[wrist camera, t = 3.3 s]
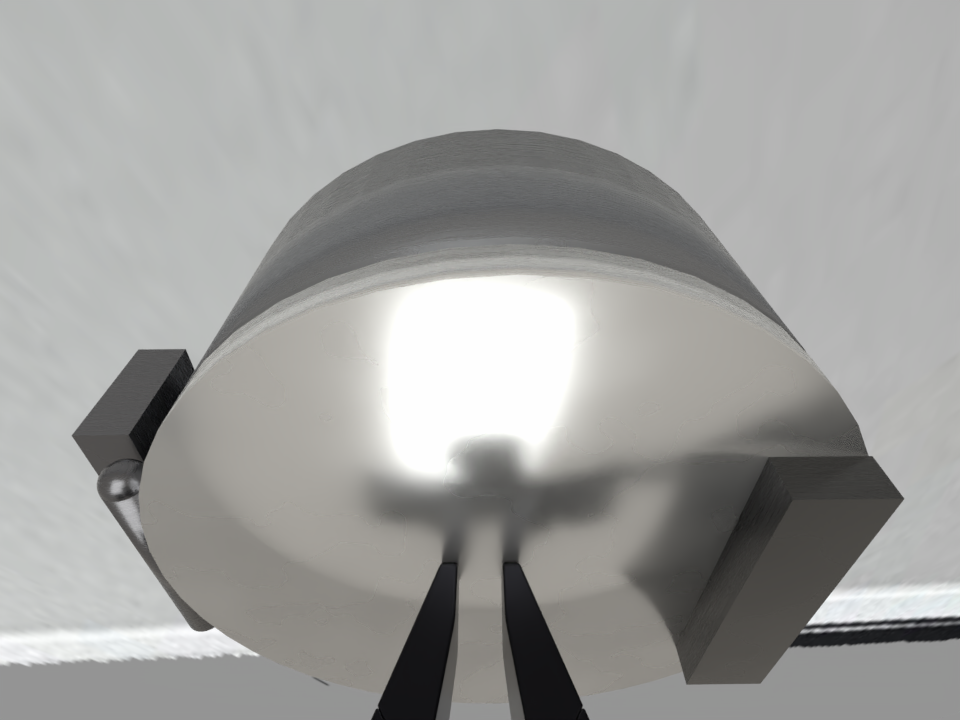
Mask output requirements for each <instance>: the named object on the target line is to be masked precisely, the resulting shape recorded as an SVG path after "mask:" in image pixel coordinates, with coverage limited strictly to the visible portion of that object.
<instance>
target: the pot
mask: <svg viewBox="0 0 960 720" xmlns="http://www.w3.org/2000/svg"><path fill="white" fill-rule="evenodd" d="M507 244H522V245H540V246H558V247H576V248H583V249H589V250H594V251H600V252H606V253H611V254H617V255H622V256H628V257H633V258H639V259H642V260H646V261H649V262H652V263H655V264H658V265H661V266H664V267H667V268H671V269H674V270H677V271H680V272H683V273H686V274H689V275H692V276H695V277H697V278H700V279H702V280H704V281H706V282H708V283H710V284H712V285H714V286H716V287H718V288H720V289H722V290H724V291H726V292H728V293H730V294H732V295H734V296H736V297H738V298H741V299H743V300H744V301H745V302H747V303H748V304H750V305H751V306H753V307H754V308H755V309H757V310H758V311H760V312H761V313H762V314H764V315H765V316H767V317H768V318H770V319H771V320H772V321H774V322H775V323H777V324H778V325H779V326H781V327H782V328H783V329H784V330H785V331H786V332H787V333H788V334H789V335H790V336H791V337H792V338H793V339H794V340H795V341H796V342H797V343H798V344H799V346H800V347H801V348H802V349H803V350H804V351H805V349H804V348H803V347H802V345H801V344H800V343H799V342H798V340H797V339H796V338H795V336H794V335H793V334H792V333H791V331H790V330H789V329H788V328H787V326H786V325H785V324H784V322H783V321H782V320H781V319H780V317H779V316H778V315H777V313H776V312H775V311H774V310H773V308H772V307H771V306H770V305H769V303H768V302H767V301H766V299H765V298H764V297H763V296H762V294H761V293H760V292H759V291H758V289H757V288H756V287H755V285H754V284H753V283H752V282H751V280H750V279H749V278H748V276H747V275H746V274H745V273H744V271H743V270H742V269H741V268H740V266H739V265H738V264H737V262H736V261H735V260H734V259H733V257H732V256H731V255H730V254H729V252H728V251H727V250H726V248H725V247H724V246H723V245H722V243H721V242H720V241H719V239H718V238H717V237H716V236H715V234H714V233H713V232H712V231H711V229H710V228H709V227H708V225H707V224H706V223H705V222H704V220H703V219H702V218H701V217H700V216H699V214H698V213H697V212H696V211H695V210H694V209H693V208H692V207H691V206H690V205H689V204H688V203H687V202H686V201H685V200H684V199H683V197H682V196H681V195H680V194H679V193H678V192H676V191H675V190H674V189H673V188H671V187H670V186H669V185H667V184H666V183H665V182H663V181H662V180H661V179H659V178H658V177H657V176H655V175H654V174H653V173H652V172H650V171H648V170H647V169H645V168H643V167H641V166H639V165H637V164H636V163H634V162H632V161H630V160H628V159H626V158H624V157H623V156H621V155H619V154H617V153H614V152H612V151H609V150H606V149H603V148H600V147H598V146H595V145H592V144H589V143H587V142H584V141H581V140H577V139H572V138H567V137H563V136H558V135H553V134H548V133H543V132H535V131H520V130H505V129H492V130H478V131H464V132H454V133H449V134H445V135H440V136H435V137H431V138H426V139H421V140H416V141H413V142H410V143H408V144H405V145H402V146H399V147H397V148H394V149H391V150H388V151H386V152H383V153H380V154H377V155H375V156H374V157H372V158H370V159H368V160H366V161H364V162H362V163H361V164H359V165H357V166H355V167H353V168H351V169H349V170H347V171H346V172H344V173H342V174H341V175H340V176H338V177H337V178H335V179H334V180H333V181H331V182H330V183H329V184H327V185H326V186H325V187H323V188H322V189H321V190H319V191H318V192H317V193H315V194H314V195H313V196H312V197H311V198H310V199H309V200H308V201H307V202H306V203H305V204H304V205H303V206H302V207H301V208H300V209H299V210H298V211H297V212H296V213H295V214H294V215H293V216H292V217H291V218H290V220H289V221H288V222H287V224H286V225H285V227H284V228H283V230H282V231H281V232H280V234H279V235H278V237H277V238H276V240H275V241H274V242H273V244H272V245H271V247H270V248H269V250H268V252H267V253H266V255H265V257H264V258H263V260H262V262H261V263H260V265H259V266H258V268H257V270H256V271H255V273H254V275H253V276H252V278H251V279H250V281H249V283H248V284H247V286H246V288H245V289H244V291H243V292H242V294H241V296H240V297H239V299H238V301H237V302H236V304H235V305H234V307H233V309H232V310H231V312H230V314H229V315H228V317H227V319H226V320H225V322H224V323H223V325H222V327H221V328H220V330H219V332H218V333H217V335H216V336H215V338H214V340H213V341H212V343H211V345H210V346H209V348H208V349H207V351H206V353H205V354H204V356H203V358H202V359H201V361H200V362H199V364H198V366H197V367H196V369H195V370H194V367H193V365H192V363H191V360H190V358H189V356H188V353H187V351H186V349H138V351H137V352H136V353H135V354H134V356H133V357H132V358H131V360H130V361H129V362H128V364H127V365H126V366H125V367H124V369H123V370H122V371H121V373H120V374H119V375H118V376H117V378H116V379H115V380H114V382H113V383H112V384H111V385H110V387H109V388H108V389H107V391H106V392H105V393H104V394H103V396H102V397H101V398H100V400H99V401H98V402H97V403H96V405H95V406H94V407H93V409H92V410H91V411H90V412H89V414H88V415H87V416H86V418H85V419H84V420H83V422H82V423H81V424H80V425H79V427H78V428H77V429H76V431H75V432H74V433H73V434H72V437H73V439H74V440H75V441H76V443H77V444H78V446H79V447H80V449H81V450H82V452H83V453H84V455H85V456H86V458H87V459H88V461H89V462H90V464H91V465H92V467H93V468H94V470H95V471H96V473H97V474H98V476H99V475H100V473H101V472H102V470H103V469H104V468H105V467H106V466H108V465H109V464H111V463H112V462H114V461H117V460H120V459H126V458H129V459H136V460H139V461H141V462H143V463H144V461H145V459H146V456H147V454H148V452H149V449H150V447H151V445H152V442H153V440H154V438H155V435H156V433H157V431H158V429H159V427H160V426H161V424H162V423H163V421H164V419H165V418H166V416H167V414H168V413H169V411H170V410H171V408H172V406H173V405H174V403H175V402H176V400H177V398H178V397H179V395H180V393H181V392H182V391H183V389H184V388H185V386H186V385H187V384H188V382H189V381H190V379H191V378H192V377H193V375H194V374H195V373H196V371H197V370H198V368H199V367H200V366H201V364H202V363H203V361H204V360H205V359H206V358H207V357H209V356H210V355H211V354H212V353H213V352H214V351H215V350H216V349H217V348H218V347H219V346H220V345H221V344H222V343H223V342H224V341H225V340H226V339H228V338H229V337H230V336H231V335H232V334H233V333H234V332H235V331H236V330H237V329H239V328H240V327H242V326H243V325H245V324H246V323H248V322H249V321H251V320H252V319H254V318H255V317H257V316H258V315H260V314H261V313H263V312H264V311H266V310H267V309H269V308H270V307H272V306H273V305H275V304H276V303H278V302H280V301H282V300H284V299H286V298H288V297H290V296H292V295H294V294H296V293H298V292H301V291H303V290H305V289H307V288H309V287H311V286H313V285H315V284H317V283H319V282H322V281H324V280H326V279H328V278H331V277H334V276H337V275H340V274H343V273H347V272H350V271H353V270H356V269H359V268H362V267H365V266H368V265H372V264H375V263H378V262H381V261H384V260H388V259H394V258H399V257H404V256H410V255H415V254H420V253H426V252H431V251H436V250H442V249H447V248H460V247H476V246H491V245H507ZM805 352H806V351H805ZM806 353H807V352H806Z"/></svg>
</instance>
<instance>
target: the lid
mask: <svg viewBox="0 0 960 720" xmlns="http://www.w3.org/2000/svg"><path fill="white" fill-rule="evenodd" d="M97 491H98V494H99V496H100V497H101V499H102V500H103V502H104V503H105V505H106V506H107V508H108V509H109V510H110V512H111V513H112V515H113V516H114V518H115V519H116V521H117V522H118V523H119V525H120V526H121V528H122V529H123V531H124V532H125V534H126V535H127V536H128V538H129V539H130V541H131V542H132V544H133V545H134V546H135V548H136V549H137V551H138V552H139V554H140V555H141V557H142V558H143V559H144V561H145V562H146V564H147V565H148V567H149V568H150V570H151V571H152V572H153V574H154V575H155V577H156V578H157V580H158V581H159V583H160V584H161V585H162V587H163V588H164V590H165V591H166V593H167V594H168V596H169V597H170V598H171V600H172V601H173V603H174V604H175V606H176V607H177V609H178V610H179V611H180V613H181V614H182V616H183V617H184V619H185V620H186V621H187V623H188V624H189V626H190V627H191V628H192V629H193V630H195V631H198V632H204V631H208V630H210V629H213V628H214V627H215V628H216V629H218V630H219V631H220V632H222V633H223V634H225V635H226V636H227V637H229V638H231V639H233V640H234V641H236V642H238V643H239V644H241V645H243V646H245V647H246V648H248V649H250V650H251V651H253V652H255V653H257V654H259V655H262V656H264V657H266V658H268V659H270V660H272V661H274V662H276V663H278V664H281V665H283V666H286V667H288V668H291V669H294V670H296V671H299V672H301V673H304V674H307V675H309V676H313V677H316V678H319V679H322V680H326V681H329V682H332V683H336V684H339V685H343V686H347V687H351V688H356V689H360V690H364V691H368V692H373V693H379V694H383V692H384V690H385V687H386V685H387V683H388V681H389V678H390V676H391V674H392V672H393V669H394V667H395V665H396V663H397V660H398V658H399V656H400V654H401V651H402V649H403V647H404V645H405V642H406V640H407V638H408V636H409V633H410V631H411V629H412V627H413V624H414V622H415V620H416V617H417V615H418V613H419V611H420V608H421V606H422V604H423V602H424V599H425V597H426V595H427V593H428V590H429V588H430V586H431V584H432V581H433V579H434V577H435V575H436V572H437V570H438V568H439V566H440V564H441V563H443V562H456V563H457V564H458V571H459V617H458V655H457V665H456V673H455V680H454V688H453V695H452V702H455V703H495V704H497V703H509V699H508V692H507V684H506V677H505V669H504V660H503V645H502V594H501V580H502V565H503V563H505V562H517V563H519V564H520V565H521V567H522V569H523V571H524V574H525V576H526V578H527V580H528V583H529V585H530V587H531V589H532V592H533V594H534V596H535V598H536V601H537V603H538V605H539V607H540V610H541V612H542V614H543V616H544V619H545V621H546V623H547V625H548V628H549V630H550V632H551V634H552V637H553V639H554V641H555V643H556V646H557V648H558V650H559V652H560V655H561V657H562V659H563V661H564V664H565V666H566V668H567V670H568V673H569V675H570V677H571V679H572V682H573V684H574V686H575V688H576V691H577V693H578V695H579V697H581V696H588V695H594V694H599V693H604V692H609V691H614V690H619V689H624V688H628V687H632V686H636V685H640V684H644V683H648V682H652V681H655V680H658V679H661V678H665V677H668V676H671V675H674V674H677V673H680V672H683V674H684V678H685V681H686V685H703V684H761V682H762V681H763V680H764V679H765V677H766V676H767V675H768V673H769V672H770V671H771V670H772V668H773V667H774V666H775V664H776V663H777V662H778V661H779V659H780V658H781V657H782V656H783V654H784V653H785V652H786V650H787V649H788V648H789V647H790V645H791V644H792V643H793V641H794V640H795V639H796V638H797V636H798V635H799V634H800V632H801V631H802V630H803V629H804V627H805V626H806V625H807V623H808V622H809V621H810V620H811V618H812V617H813V616H814V614H815V613H816V612H817V611H818V609H819V608H820V607H821V605H822V604H823V603H824V602H825V600H826V599H827V598H828V596H829V595H830V594H831V593H832V591H833V590H834V589H835V588H836V586H837V585H838V584H839V582H840V581H841V580H842V579H843V577H844V576H845V575H846V573H847V572H848V571H849V570H850V568H851V567H852V566H853V564H854V563H855V562H856V561H857V559H858V558H859V557H860V555H861V554H862V553H863V552H864V550H865V549H866V548H867V546H868V545H869V544H870V543H871V541H872V540H873V539H874V537H875V536H876V535H877V534H878V532H879V531H880V530H881V528H882V527H883V526H884V525H885V523H886V522H887V521H888V519H889V518H890V517H891V516H892V514H893V513H894V512H895V511H896V509H897V508H898V507H899V505H900V504H901V503H902V502H903V500H904V497H903V496H902V495H901V493H900V492H899V491H898V489H897V488H896V487H895V485H894V484H893V483H892V481H891V480H890V479H889V477H888V476H887V475H886V473H885V472H884V471H883V469H882V468H881V467H880V465H879V464H878V463H877V461H876V460H875V459H874V457H873V456H869V455H868V452H867V449H866V446H865V443H864V440H863V437H862V434H861V431H860V428H859V425H858V423H857V422H856V420H855V418H854V417H853V415H852V414H851V412H850V410H849V409H848V407H847V406H846V404H845V402H844V401H843V399H842V398H841V396H840V394H839V393H838V391H837V390H836V389H835V388H834V386H833V385H832V384H831V382H830V381H829V380H828V379H827V377H826V376H825V375H824V374H823V372H822V371H821V370H820V368H819V367H818V366H817V365H816V363H815V362H814V361H813V359H812V358H811V357H810V356H809V355H808V354H807V353H806V352H805V351H804V350H803V349H802V348H801V347H800V346H799V344H798V343H797V342H796V341H795V340H794V339H793V338H792V337H791V336H790V335H789V334H788V333H787V332H786V331H785V330H784V329H783V328H782V327H781V326H779V325H778V324H777V323H775V322H774V321H772V320H771V319H770V318H768V317H767V316H765V315H764V314H762V313H761V312H760V311H758V310H757V309H755V308H754V307H753V306H751V305H750V304H748V303H747V302H745V301H744V300H743V299H741V298H738V297H736V296H734V295H732V294H730V293H728V292H726V291H724V290H722V289H720V288H718V287H716V286H714V285H712V284H710V283H708V282H706V281H704V280H702V279H700V278H697V277H695V276H692V275H689V274H686V273H683V272H680V271H677V270H674V269H671V268H667V267H664V266H661V265H658V264H655V263H652V262H649V261H646V260H642V259H639V258H633V257H628V256H622V255H617V254H611V253H606V252H600V251H594V250H589V249H583V248H576V247H558V246H540V245H522V244H507V245H491V246H476V247H460V248H447V249H442V250H436V251H431V252H426V253H420V254H415V255H410V256H404V257H399V258H394V259H388V260H384V261H381V262H378V263H375V264H372V265H368V266H365V267H362V268H359V269H356V270H353V271H350V272H347V273H343V274H340V275H337V276H334V277H331V278H328V279H326V280H324V281H322V282H319V283H317V284H315V285H313V286H311V287H309V288H307V289H305V290H303V291H301V292H298V293H296V294H294V295H292V296H290V297H288V298H286V299H284V300H282V301H280V302H278V303H276V304H275V305H273V306H272V307H270V308H269V309H267V310H266V311H264V312H263V313H261V314H260V315H258V316H257V317H255V318H254V319H252V320H251V321H249V322H248V323H246V324H245V325H243V326H242V327H240V328H239V329H237V330H236V331H235V332H234V333H233V334H232V335H231V336H230V337H229V338H228V339H226V340H225V341H224V342H223V343H222V344H221V345H220V346H219V347H218V348H217V349H216V350H215V351H214V352H213V353H212V354H211V355H210V356H209V357H207V358H206V359H205V360H204V361H203V363H202V364H201V366H200V367H199V368H198V370H197V371H196V373H195V374H194V375H193V377H192V378H191V379H190V381H189V382H188V384H187V385H186V386H185V388H184V389H183V391H182V392H181V393H180V395H179V397H178V398H177V400H176V402H175V403H174V405H173V406H172V408H171V410H170V411H169V413H168V414H167V416H166V418H165V419H164V421H163V423H162V424H161V426H160V427H159V429H158V431H157V433H156V435H155V438H154V440H153V442H152V445H151V447H150V449H149V452H148V454H147V456H146V459H145V461H144V463H143V462H141V461H139V460H136V459H129V458H126V459H120V460H117V461H114V462H112V463H111V464H109V465H108V466H106V467H105V468H104V469H103V470H102V472H101V473H100V475H99V477H98V480H97Z"/></svg>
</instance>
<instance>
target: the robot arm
mask: <svg viewBox="0 0 960 720" xmlns="http://www.w3.org/2000/svg"><path fill="white" fill-rule="evenodd" d="M501 594H502V645H503V660H504V669H505V677H506V684H507V692H508V699H509V707H510V714H511V720H590V719H589V717H588V715H587V713H586V710H585V709H584V708H583V704H582V702H581V700H580V697H579V695H578V693H577V691H576V688H575V686H574V684H573V682H572V679H571V677H570V675H569V673H568V670H567V668H566V666H565V664H564V661H563V659H562V657H561V655H560V652H559V650H558V648H557V646H556V643H555V641H554V639H553V637H552V634H551V632H550V630H549V628H548V625H547V623H546V621H545V619H544V616H543V614H542V612H541V610H540V607H539V605H538V603H537V601H536V598H535V596H534V594H533V592H532V589H531V587H530V585H529V583H528V580H527V578H526V576H525V574H524V571H523V569H522V567H521V565H520V564H519V563H517V562H505V563H503V565H502V580H501ZM458 617H459V571H458V564H457V563H456V562H443V563H441V564H440V566H439V568H438V570H437V572H436V575H435V577H434V579H433V581H432V584H431V586H430V588H429V590H428V593H427V595H426V597H425V599H424V602H423V604H422V606H421V608H420V611H419V613H418V615H417V617H416V620H415V622H414V624H413V627H412V629H411V631H410V633H409V636H408V638H407V640H406V642H405V645H404V647H403V649H402V651H401V654H400V656H399V658H398V660H397V663H396V665H395V667H394V669H393V672H392V674H391V676H390V678H389V681H388V683H387V685H386V687H385V690H384V692H383V694H382V696H381V699H380V701H379V703H378V708H377V709H376V710H375V712H374V714H373V716H372V718H371V720H449V718H450V710H451V703H452V695H453V688H454V680H455V673H456V665H457V655H458ZM582 708H583V709H582Z"/></svg>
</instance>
